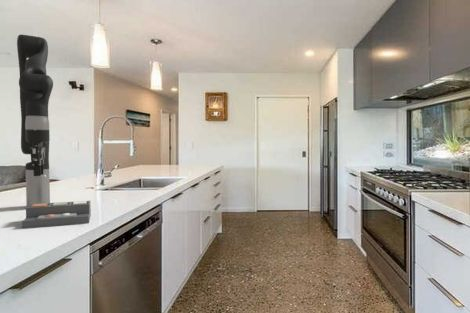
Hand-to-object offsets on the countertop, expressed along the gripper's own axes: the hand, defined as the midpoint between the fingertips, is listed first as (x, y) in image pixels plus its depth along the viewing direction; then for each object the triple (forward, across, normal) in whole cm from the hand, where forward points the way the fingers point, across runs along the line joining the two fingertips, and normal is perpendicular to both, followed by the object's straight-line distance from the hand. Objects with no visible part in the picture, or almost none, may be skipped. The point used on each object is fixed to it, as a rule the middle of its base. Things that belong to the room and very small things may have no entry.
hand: (38, 175), depth 119 cm
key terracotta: (+13, 0, 0) cm, 13 cm away
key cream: (+13, 0, +14) cm, 19 cm away
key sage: (+13, 0, +7) cm, 15 cm away
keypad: (+17, +2, +7) cm, 19 cm away
